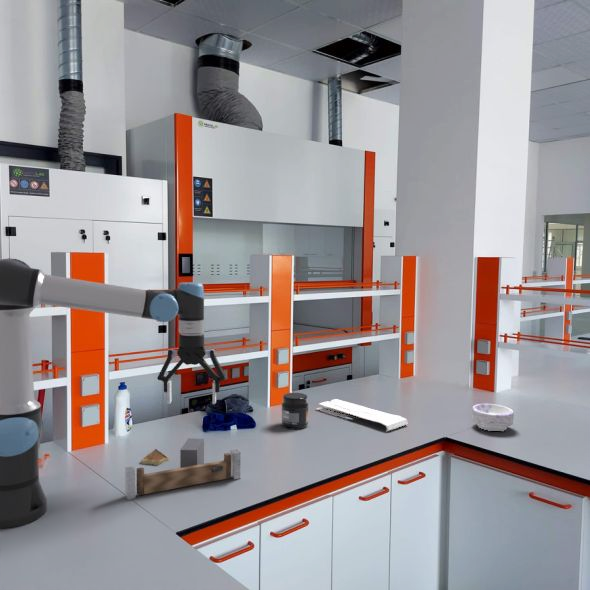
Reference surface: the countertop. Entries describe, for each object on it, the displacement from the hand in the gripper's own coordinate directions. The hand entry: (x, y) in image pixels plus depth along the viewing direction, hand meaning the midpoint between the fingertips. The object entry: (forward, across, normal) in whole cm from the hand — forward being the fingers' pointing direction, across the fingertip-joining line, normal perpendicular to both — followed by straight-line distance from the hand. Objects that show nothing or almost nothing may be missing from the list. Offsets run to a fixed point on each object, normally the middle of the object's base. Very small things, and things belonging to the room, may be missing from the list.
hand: (191, 402), depth 168 cm
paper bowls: (+22, +110, +42) cm, 120 cm away
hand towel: (+22, +60, +56) cm, 85 cm away
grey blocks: (+21, -1, -12) cm, 24 cm away
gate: (+21, 0, -12) cm, 24 cm away
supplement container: (+22, +33, +45) cm, 60 cm away
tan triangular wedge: (+22, -14, +9) cm, 28 cm away
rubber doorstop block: (+21, 0, -1) cm, 21 cm away
